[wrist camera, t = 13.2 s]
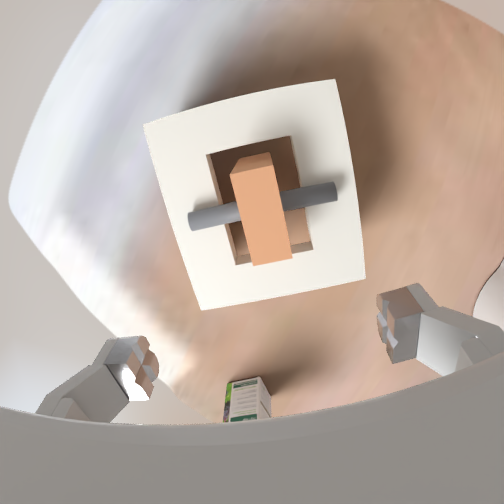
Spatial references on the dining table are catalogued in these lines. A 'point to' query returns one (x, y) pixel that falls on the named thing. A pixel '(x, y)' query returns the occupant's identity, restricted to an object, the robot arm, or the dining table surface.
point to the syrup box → (247, 401)
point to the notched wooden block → (261, 209)
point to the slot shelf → (312, 169)
